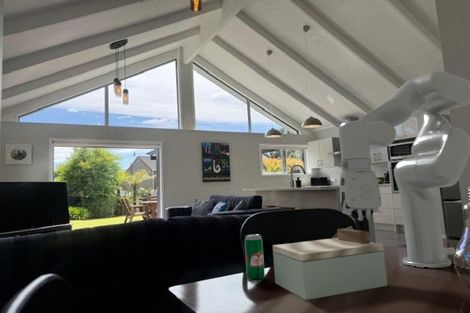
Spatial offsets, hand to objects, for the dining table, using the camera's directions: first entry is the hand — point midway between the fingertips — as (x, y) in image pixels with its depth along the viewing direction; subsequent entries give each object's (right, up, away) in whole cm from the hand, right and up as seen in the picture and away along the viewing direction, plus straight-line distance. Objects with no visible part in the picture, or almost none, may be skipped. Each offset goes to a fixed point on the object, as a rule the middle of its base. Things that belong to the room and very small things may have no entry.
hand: (363, 235), depth 88 cm
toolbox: (-11, -11, -5) cm, 16 cm away
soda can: (-28, -14, +5) cm, 32 cm away
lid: (-11, -3, -4) cm, 12 cm away
